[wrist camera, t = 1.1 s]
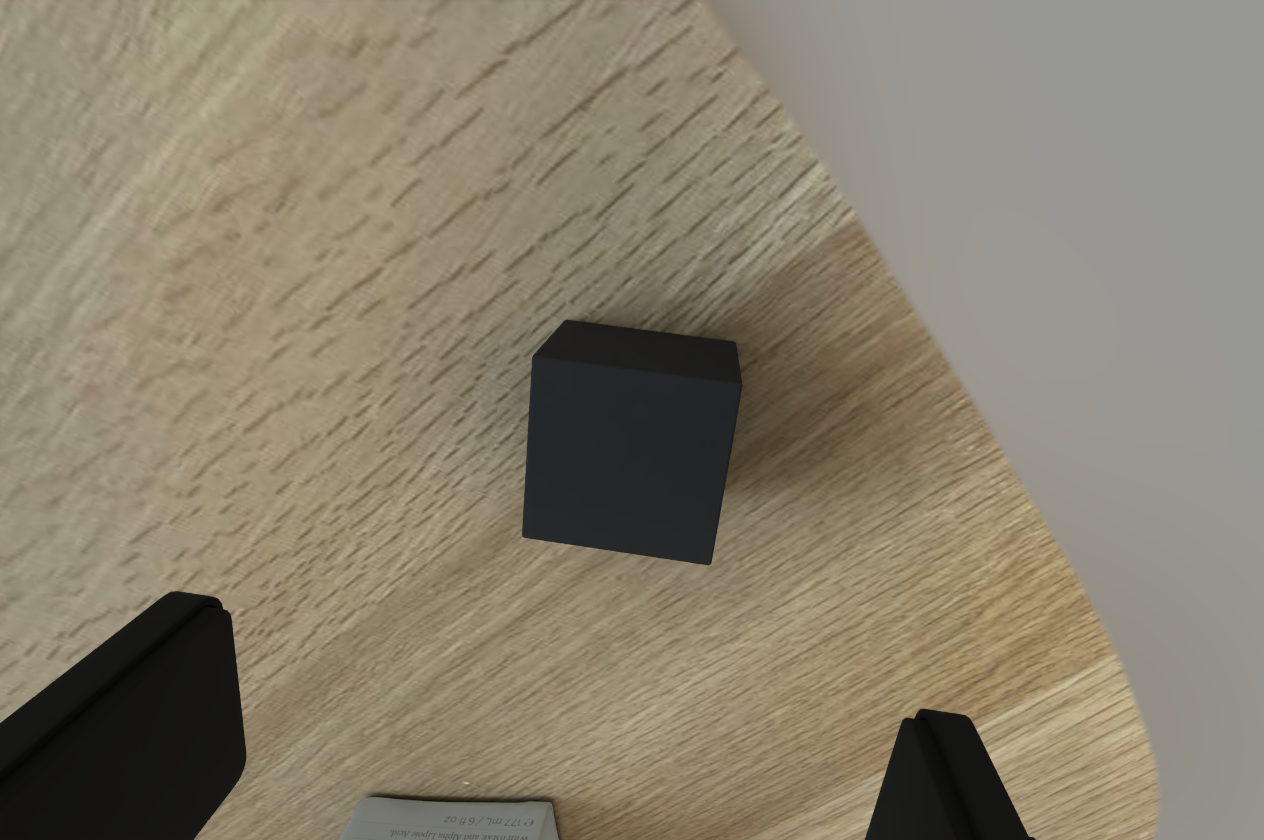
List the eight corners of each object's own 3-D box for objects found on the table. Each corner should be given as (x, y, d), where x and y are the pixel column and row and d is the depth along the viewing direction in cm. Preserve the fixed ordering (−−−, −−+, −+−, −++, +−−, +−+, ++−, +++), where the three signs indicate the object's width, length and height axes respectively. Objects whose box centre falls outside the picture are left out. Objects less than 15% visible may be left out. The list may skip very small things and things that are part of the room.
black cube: (564, 319, 20) (531, 355, 16) (736, 341, 20) (743, 383, 16) (553, 473, 22) (521, 538, 18) (710, 496, 22) (711, 566, 18)
